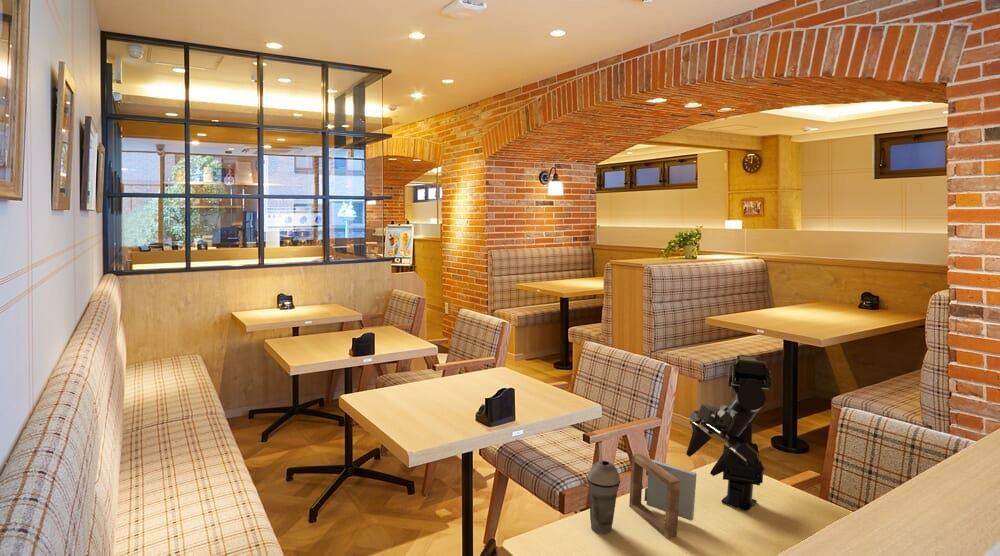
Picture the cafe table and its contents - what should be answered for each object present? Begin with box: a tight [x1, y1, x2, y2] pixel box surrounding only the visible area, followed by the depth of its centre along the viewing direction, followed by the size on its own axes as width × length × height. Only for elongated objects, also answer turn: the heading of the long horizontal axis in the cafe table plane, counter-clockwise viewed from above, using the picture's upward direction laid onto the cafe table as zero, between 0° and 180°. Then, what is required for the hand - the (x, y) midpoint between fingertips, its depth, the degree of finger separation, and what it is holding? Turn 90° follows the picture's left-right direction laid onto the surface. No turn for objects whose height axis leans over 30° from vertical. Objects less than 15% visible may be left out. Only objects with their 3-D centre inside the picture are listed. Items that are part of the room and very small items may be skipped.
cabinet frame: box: [628, 453, 680, 540], centre depth 139 cm, size 2×15×13 cm, turn 21°
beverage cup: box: [586, 441, 621, 535], centre depth 134 cm, size 7×7×20 cm
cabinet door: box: [644, 459, 697, 522], centre depth 141 cm, size 2×12×11 cm, turn 51°
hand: (699, 464), depth 139 cm, fingers open, 9 cm apart
